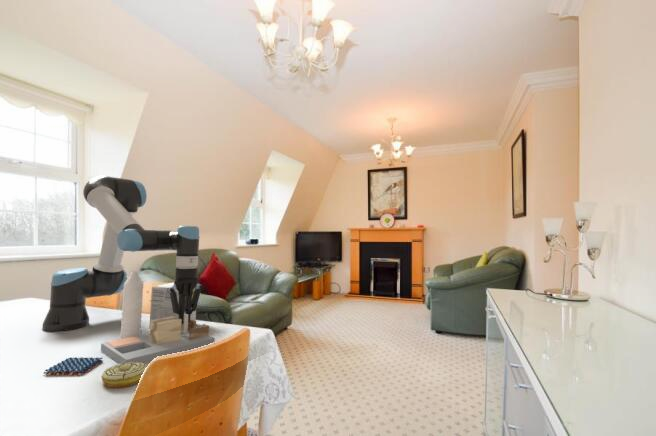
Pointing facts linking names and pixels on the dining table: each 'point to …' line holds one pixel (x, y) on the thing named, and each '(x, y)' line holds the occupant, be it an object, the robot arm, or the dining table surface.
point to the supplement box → (164, 303)
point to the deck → (149, 347)
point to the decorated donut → (123, 374)
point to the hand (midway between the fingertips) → (183, 332)
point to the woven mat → (73, 366)
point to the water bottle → (132, 305)
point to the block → (165, 330)
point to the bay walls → (197, 330)
